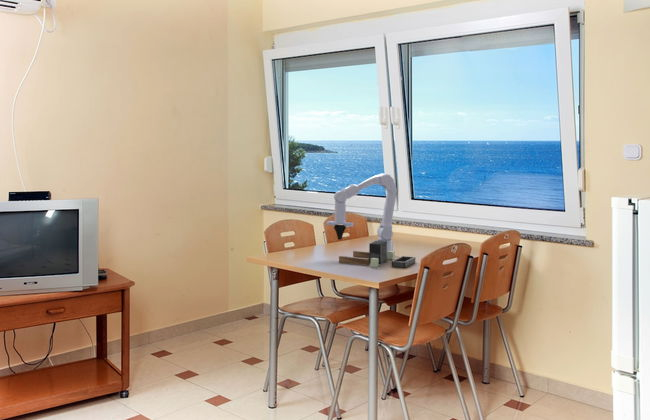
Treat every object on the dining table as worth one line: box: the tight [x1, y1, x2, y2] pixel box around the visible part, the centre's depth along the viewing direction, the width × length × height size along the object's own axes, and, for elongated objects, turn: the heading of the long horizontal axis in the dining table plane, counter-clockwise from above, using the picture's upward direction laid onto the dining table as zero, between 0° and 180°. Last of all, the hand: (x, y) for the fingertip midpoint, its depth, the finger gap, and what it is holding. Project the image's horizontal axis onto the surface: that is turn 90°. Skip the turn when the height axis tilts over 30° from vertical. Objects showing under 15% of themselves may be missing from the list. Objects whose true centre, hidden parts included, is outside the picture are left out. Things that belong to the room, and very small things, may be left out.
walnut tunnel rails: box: [338, 250, 371, 266], centre depth 325 cm, size 20×16×3 cm
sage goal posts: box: [370, 250, 396, 268], centre depth 320 cm, size 26×3×4 cm, turn 154°
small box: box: [368, 240, 388, 265], centre depth 321 cm, size 11×6×10 cm, turn 156°
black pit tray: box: [390, 255, 416, 269], centre depth 315 cm, size 16×7×3 cm, turn 154°
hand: (339, 239), depth 334 cm, fingers closed
